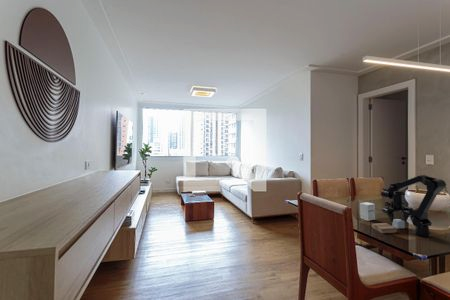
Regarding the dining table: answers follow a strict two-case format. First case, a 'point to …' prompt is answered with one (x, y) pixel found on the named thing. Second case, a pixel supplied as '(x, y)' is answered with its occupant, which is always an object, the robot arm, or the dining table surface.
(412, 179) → the robot arm
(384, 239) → the dining table surface
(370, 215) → the supplement box
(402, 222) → the slate block
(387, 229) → the tan flat block
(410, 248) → the dining table surface
